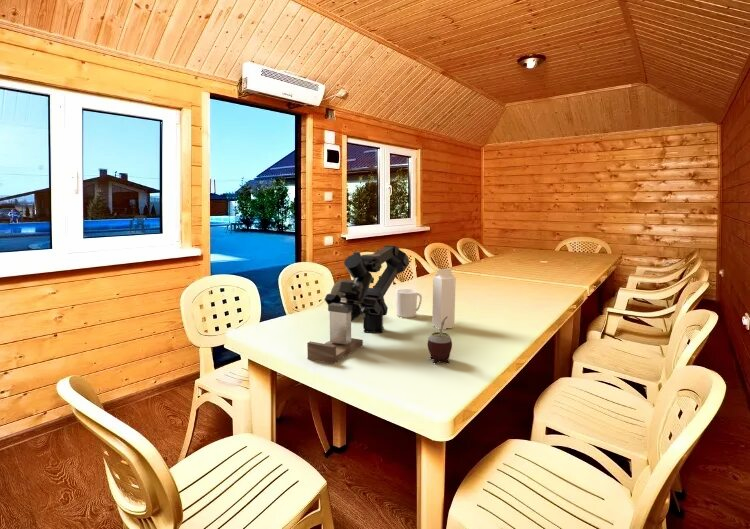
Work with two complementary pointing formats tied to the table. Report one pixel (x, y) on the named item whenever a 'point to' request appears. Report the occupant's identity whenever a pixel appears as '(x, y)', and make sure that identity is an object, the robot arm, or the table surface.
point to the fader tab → (340, 323)
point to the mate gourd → (440, 345)
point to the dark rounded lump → (337, 285)
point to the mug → (407, 303)
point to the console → (331, 350)
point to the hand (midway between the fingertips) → (343, 326)
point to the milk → (443, 298)
